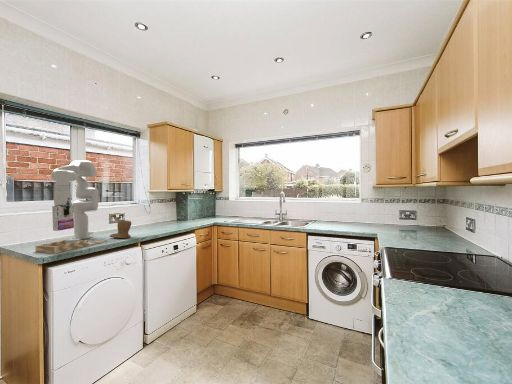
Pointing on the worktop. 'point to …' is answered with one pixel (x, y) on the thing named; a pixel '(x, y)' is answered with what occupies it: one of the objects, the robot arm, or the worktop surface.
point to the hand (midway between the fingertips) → (63, 214)
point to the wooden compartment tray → (59, 246)
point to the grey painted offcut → (72, 241)
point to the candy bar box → (62, 218)
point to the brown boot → (122, 229)
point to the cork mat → (96, 242)
